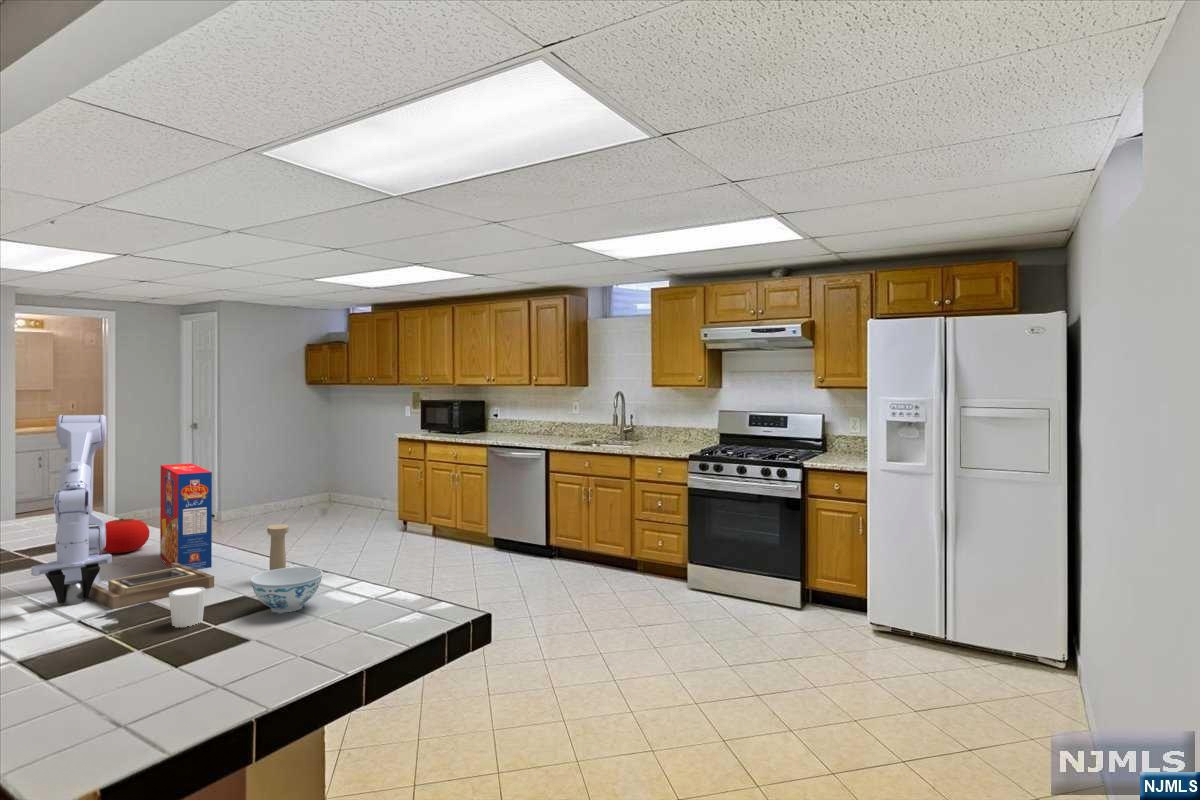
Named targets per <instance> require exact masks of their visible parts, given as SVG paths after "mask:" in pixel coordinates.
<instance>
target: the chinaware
mask: <svg viewBox="0 0 1200 800" xmlns="http://www.w3.org/2000/svg"><path fill="white" fill-rule="evenodd" d="M322 577H323V571H322V570H321V569H318V568H314V567H309V566H308V567H307V566H297V567H296V566H295V567H294V566H291V567H286V568H281V569H275V570H270V569H269V570H266V571H263V572H259V573H258V574H254V575H253V576H252V577H251V579H250V583H251V587H252V590H253V593H254V594H255V597H256V598H257V599H258V600H259V601H260V602H261V603H262V604H264V605H265V606H267V607H269V608H270V610H271V612H272V611H273V612H272V613H274V612H278V613H277V614H284V613H283V612H290V613H292V612H291V611H294V612H296V611H295V610H298V611H300V610H302V609H303V608H302V607H304V604H305V603H307V602H308V601H309V600H310V599H311V598H312V597H313V596H314V595H315V594H316V592H317V590H318V588H319V587H320V584H321V581H322ZM301 608H302V609H301ZM299 609H300V610H299Z"/></svg>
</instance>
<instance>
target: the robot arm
mask: <svg viewBox="0 0 1200 800" xmlns="http://www.w3.org/2000/svg"><path fill="white" fill-rule="evenodd" d="M107 430H108V429H107V417H106V415H104V414H86V415H85V414H78V415H77V414H75V415H74V414H73V415H72V414H69V415H64V414H60V415H58V416H57V417H56V421H55V433H56V438H57V441H58V445H60V448H61V449H63V450H67V464H65V465H63V466H61V469H60V475H59V484H58V492H55V494H54V498H53V511H54V515H55V523H56V524H57V525H56V533H55V552H56V561H51V562H46V563H42V564H37V565H31V570H30V571H31V576H33V577H38V576H41V575H45V577H46V578H47V580H48V581H49V583H50V585H51V587H52V589H53V591H54V594H55V598H56V601H57V602H56V603H58V604H60V605H62V603H64V582H68V581H74V580H83V581H84V600H85V599H89V598H90V597H89V593H90V590H91V587H92V584H93V583H94V584H96V585H97V584H99V583H100V570H101V566H100V565H104V564H105V565H106V564H111V563H112V562H113V559H112V558H113V555H112V553H105V554H100V551H103V549H104V548H105V546H106V527H105V523H106V521H105V519H104V518H103V517H101V516H99V515H97V514H96V513H93V512H94V511H93V509H94V508H93V505H94V503H93V502H94V459H95V455H96V452H97V451H98V450H100V449H101V448H104V447H105V446H106V445H105V444H106V442H107Z"/></svg>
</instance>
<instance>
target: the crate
mask: <svg viewBox="0 0 1200 800" xmlns="http://www.w3.org/2000/svg"><path fill="white" fill-rule="evenodd" d="M192 579H197V574H194V573H192V572H189V571H186V570H183V569H181V568H178V567H176V568H165V569H160V570H157V571H156V570H155V571H151V572H146V573H140V574H135V575H129V576H123V577H120V578H114V579H109V580H108V581H107V582H108V583H107V585H108V586H107V587H108V589H107V590H108V591H110V592H112V593H115V594H117V595H119V594H124V593H129V592H134V591H139V590H144V589H148V588H153V587H158V586H163V585H168V584H173V583H177V582H182V581H187V580H192Z"/></svg>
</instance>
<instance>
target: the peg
mask: <svg viewBox="0 0 1200 800" xmlns="http://www.w3.org/2000/svg"><path fill="white" fill-rule="evenodd" d="M84 602H85V598H84V581H83V580H74V581H68V582H64V603H62V604H61V606H63V607H68V606H70V607H71V606H75V605H79V604H83V603H84Z"/></svg>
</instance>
